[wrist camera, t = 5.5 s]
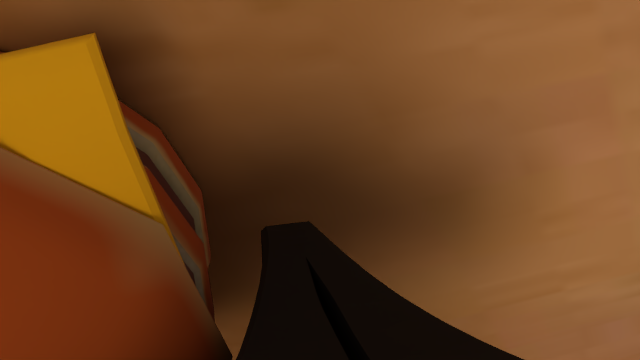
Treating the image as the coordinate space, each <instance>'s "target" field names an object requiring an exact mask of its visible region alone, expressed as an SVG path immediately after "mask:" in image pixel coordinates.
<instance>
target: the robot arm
mask: <svg viewBox="0 0 640 360" xmlns="http://www.w3.org/2000/svg"><path fill="white" fill-rule="evenodd" d="M261 244H262V271H261V278H260V284H259V288H258V292H257V296H256V300H255V304H254V308H253V312H252V316H251V319H250V322H249V326H248V329H247V332H246V335H245V338H244V340H243V343H242V346H241V349H240V352H239V354H238V357H237V359H236V360H524V359H521V358H519V357H517V356H514V355H512V354H509V353H507V352H505V351H502V350H500V349H498V348H496V347H494V346H491V345H489V344H487V343H485V342H483V341H481V340H478V339H476V338H475V337H473V336H471V335H469V334H467V333H465V332H463V331H461V330H459V329H457V328H455V327H453V326H451V325H449V324H447V323H445V322H443V321H442V320H440V319H438V318H436V317H434V316H433V315H431V314H429V313H428V312H426V311H424V310H423V309H421V308H419V307H418V306H416V305H414V304H413V303H411V302H409V301H408V300H406V299H405V298H403V297H402V296H400V295H399V294H397V293H396V292H394V291H393V290H391V289H390V288H388V287H387V286H386V285H384V284H383V283H382V282H380V281H379V280H377V279H376V278H375V277H373V276H372V275H371V274H369V273H368V272H367V271H365V270H364V269H363V268H362V267H361V266H359V265H358V264H357V263H356V262H354V261H353V260H352V259H351V258H350V257H348V256H347V255H346V254H345V253H344V252H343V251H341V250H340V249H339V248H338V247H337V246H336V245H335V244H334V243H332V242H331V241H330V240H329V239H328V238H327V237H326V236H325V235H324V234H323V233H321V232H320V231H319V230H318V229H317V228H316V227H315V226H314V225H312V224H311V223H310V222H309V221H307V222H299V223H290V224H282V225H274V226H266V227H265V228H264V229H263V230H262V231H261Z"/></svg>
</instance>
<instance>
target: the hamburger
mask: <svg viewBox="0 0 640 360" xmlns="http://www.w3.org/2000/svg"><path fill="white" fill-rule="evenodd" d="M210 261H211V252H210V244H209V237H208V230H207V223H206V217H205V210H204V203H203V196H202V191H201V189H200V188H199V187H198V185H197V184H196V182H195V181H194V179H193V178H192V176H191V175H190V173H189V172H188V170H187V169H186V167H185V166H184V164H183V163H182V161H181V160H180V158H179V157H178V155H177V154H176V153H175V151H174V150H173V148H172V147H171V145H170V144H169V142H168V141H167V139H166V138H165V136H164V135H163V133H162V132H161V130H160V129H159V128H158V127H157V126H155V125H154V124H152V123H151V122H149V121H148V120H146V119H145V118H144V117H142V116H141V115H139V114H138V113H136V112H135V111H134V110H132V109H131V108H129V107H128V106H126V105H125V104H123V103H122V102H121V101H119V100H118V98H117V95H116V92H115V90H114V87H113V84H112V81H111V78H110V75H109V73H108V70H107V67H106V64H105V61H104V58H103V55H102V52H101V49H100V46H99V43H98V40H97V37H96V34H95V33H91V34H87V35H82V36H78V37H73V38H69V39H65V40H60V41H56V42H51V43H47V44H42V45H38V46H33V47H29V48H25V49H20V50H16V51H11V52H7V53H4V52H1V51H0V360H232V354H231V352H230V350H229V348H228V347H227V345H226V343H225V341H224V339H223V337H222V335H221V333H220V331H219V330H218V328H217V326H216V324H215V319H214V307H213V300H212V294H211V287H210V281H209V274H208V267H209V264H210Z"/></svg>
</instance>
